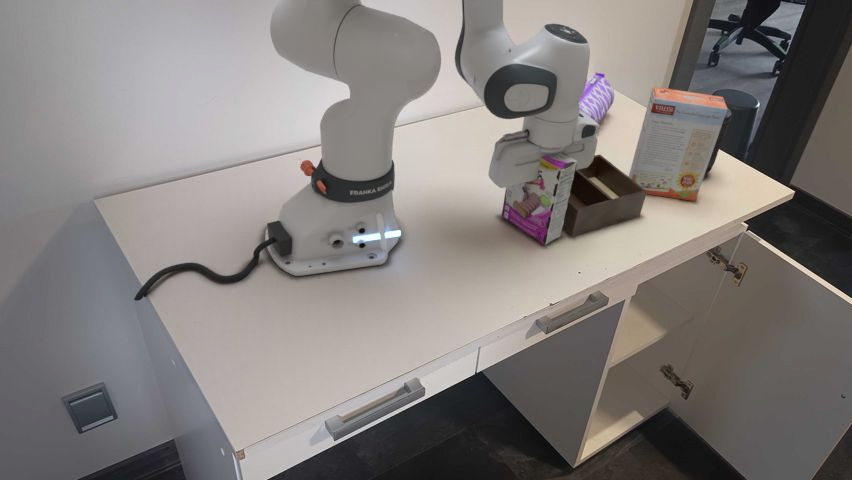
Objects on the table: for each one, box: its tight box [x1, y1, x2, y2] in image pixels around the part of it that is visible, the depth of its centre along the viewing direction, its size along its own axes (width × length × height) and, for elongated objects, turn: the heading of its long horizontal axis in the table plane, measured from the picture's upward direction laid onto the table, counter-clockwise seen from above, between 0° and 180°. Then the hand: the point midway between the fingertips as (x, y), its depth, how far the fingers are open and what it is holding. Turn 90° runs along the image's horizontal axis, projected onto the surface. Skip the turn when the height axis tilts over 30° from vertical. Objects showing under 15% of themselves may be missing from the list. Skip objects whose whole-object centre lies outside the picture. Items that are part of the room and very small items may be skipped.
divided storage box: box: [562, 154, 648, 237], centre depth 133 cm, size 17×15×6 cm
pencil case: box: [579, 71, 615, 124], centre depth 158 cm, size 22×9×10 cm, turn 158°
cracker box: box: [628, 86, 728, 202], centre depth 136 cm, size 14×6×21 cm, turn 84°
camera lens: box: [703, 107, 732, 179], centre depth 146 cm, size 8×8×15 cm
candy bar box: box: [501, 152, 577, 246], centre depth 122 cm, size 11×5×16 cm, turn 47°
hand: (536, 195), depth 122 cm, fingers closed on candy bar box, 5 cm apart
